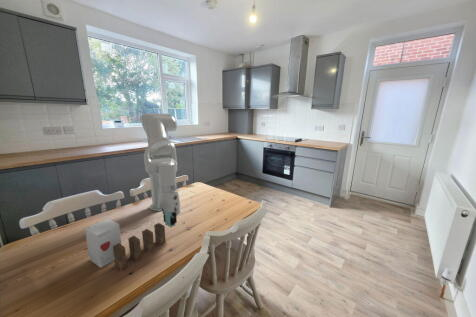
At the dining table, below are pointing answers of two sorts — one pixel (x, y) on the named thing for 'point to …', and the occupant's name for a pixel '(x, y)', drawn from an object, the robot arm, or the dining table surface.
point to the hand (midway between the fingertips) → (170, 222)
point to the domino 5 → (168, 218)
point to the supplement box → (102, 241)
